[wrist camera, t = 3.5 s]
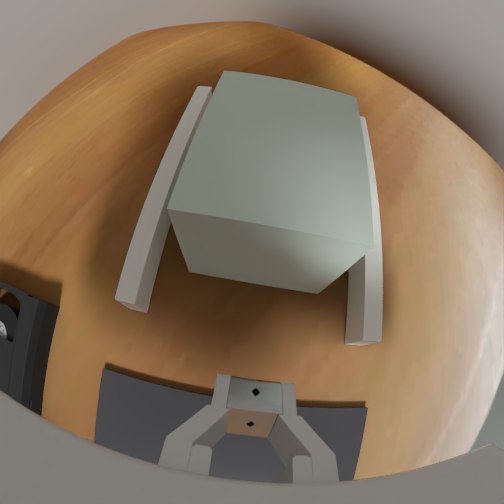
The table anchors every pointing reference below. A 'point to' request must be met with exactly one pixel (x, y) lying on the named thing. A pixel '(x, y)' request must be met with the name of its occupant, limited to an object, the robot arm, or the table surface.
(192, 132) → the channel
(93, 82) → the table surface
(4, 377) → the vhs tape
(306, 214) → the sage block
